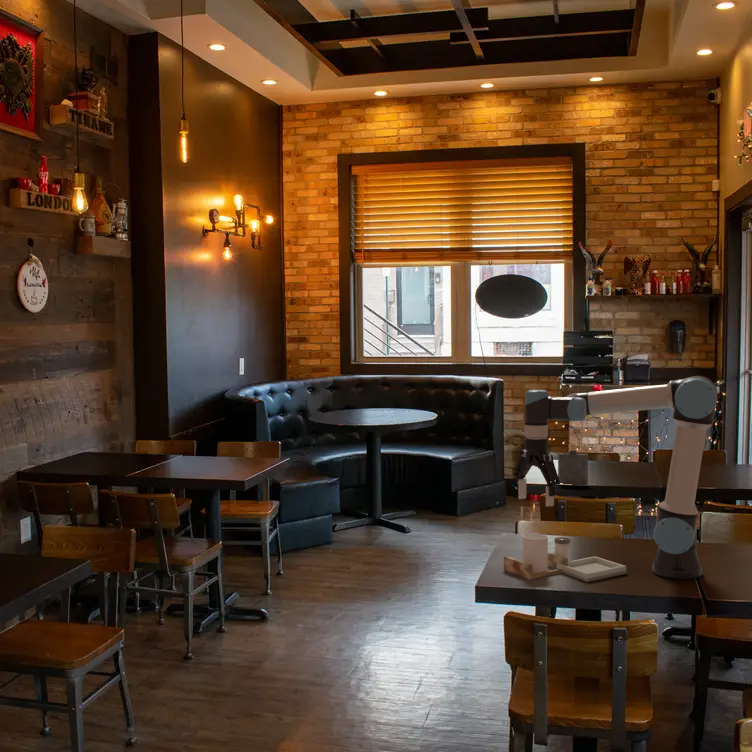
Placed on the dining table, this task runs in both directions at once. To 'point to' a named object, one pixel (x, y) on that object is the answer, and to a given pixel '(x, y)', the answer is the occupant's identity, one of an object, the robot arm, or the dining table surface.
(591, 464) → the dining table surface
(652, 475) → the dining table surface
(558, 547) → the salt jar
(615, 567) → the tray
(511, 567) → the oak caddy
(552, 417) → the robot arm
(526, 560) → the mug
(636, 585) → the dining table surface
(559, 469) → the flask
